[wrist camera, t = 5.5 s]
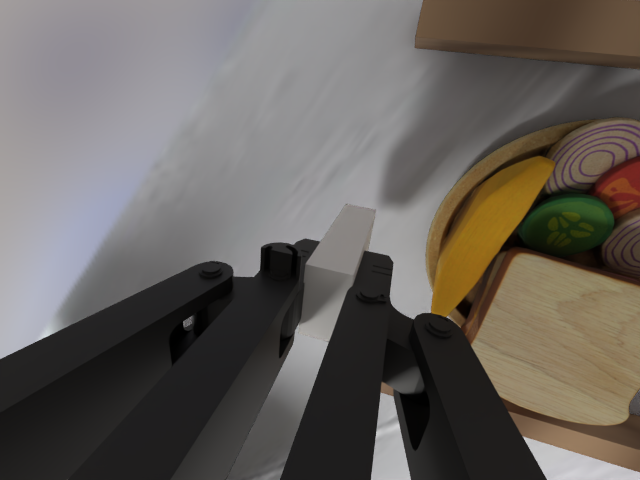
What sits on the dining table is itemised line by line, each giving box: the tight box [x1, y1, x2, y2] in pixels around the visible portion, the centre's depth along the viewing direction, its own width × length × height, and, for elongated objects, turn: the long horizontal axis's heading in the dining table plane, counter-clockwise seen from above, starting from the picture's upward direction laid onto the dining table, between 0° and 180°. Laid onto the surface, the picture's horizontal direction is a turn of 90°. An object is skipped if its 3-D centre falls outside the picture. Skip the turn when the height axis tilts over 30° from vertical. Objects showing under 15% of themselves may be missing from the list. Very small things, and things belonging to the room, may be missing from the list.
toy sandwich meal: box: [426, 117, 640, 426], centre depth 14 cm, size 12×14×5 cm
